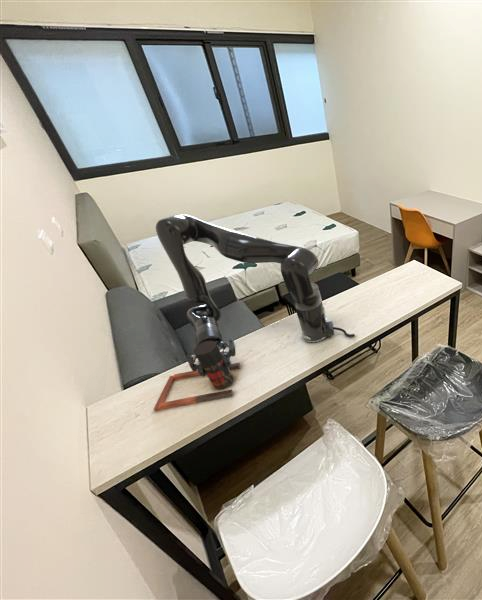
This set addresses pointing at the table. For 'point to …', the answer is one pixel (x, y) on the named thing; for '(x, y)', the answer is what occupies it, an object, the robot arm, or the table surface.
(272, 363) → the table surface
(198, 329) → the robot arm
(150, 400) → the table surface
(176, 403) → the brown angled rods
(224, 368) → the deodorant
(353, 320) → the table surface
